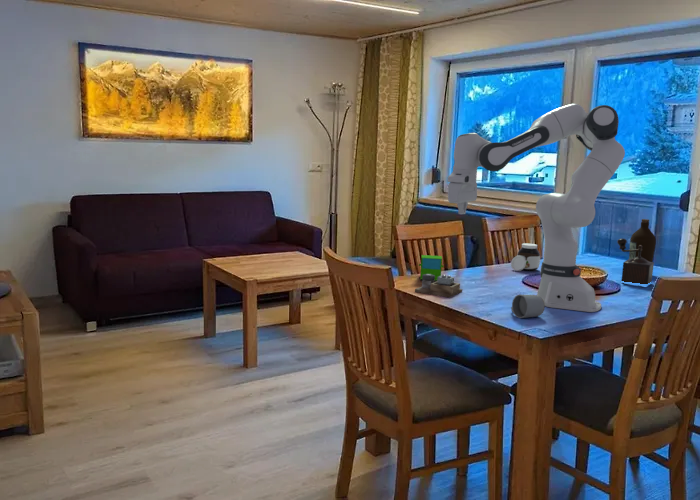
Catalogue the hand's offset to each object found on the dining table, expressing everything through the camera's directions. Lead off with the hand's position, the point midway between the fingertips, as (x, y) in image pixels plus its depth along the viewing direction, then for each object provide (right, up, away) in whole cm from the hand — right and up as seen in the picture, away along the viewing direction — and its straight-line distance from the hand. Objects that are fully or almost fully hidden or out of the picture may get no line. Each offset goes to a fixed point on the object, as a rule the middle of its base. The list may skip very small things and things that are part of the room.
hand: (461, 214), depth 239 cm
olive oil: (+89, -25, +50) cm, 105 cm away
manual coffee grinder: (+77, -28, +30) cm, 87 cm away
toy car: (-9, -26, +22) cm, 35 cm away
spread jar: (+37, -23, +49) cm, 66 cm away
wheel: (-12, -28, +2) cm, 30 cm away
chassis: (-9, -29, 0) cm, 30 cm away
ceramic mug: (+16, -35, -29) cm, 48 cm away
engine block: (-6, -29, -1) cm, 29 cm away
